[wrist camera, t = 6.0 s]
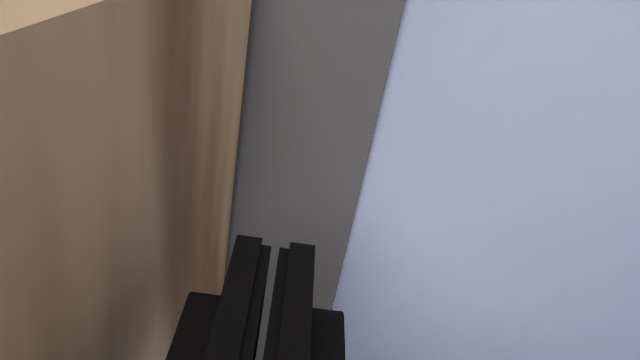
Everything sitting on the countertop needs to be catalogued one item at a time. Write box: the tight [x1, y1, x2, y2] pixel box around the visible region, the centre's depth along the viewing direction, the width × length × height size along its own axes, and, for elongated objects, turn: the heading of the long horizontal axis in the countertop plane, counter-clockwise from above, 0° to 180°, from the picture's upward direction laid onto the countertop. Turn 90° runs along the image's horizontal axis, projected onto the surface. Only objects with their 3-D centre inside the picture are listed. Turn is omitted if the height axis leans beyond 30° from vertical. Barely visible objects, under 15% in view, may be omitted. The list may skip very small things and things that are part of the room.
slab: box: [0, 0, 252, 360], centre depth 11 cm, size 4×12×10 cm, turn 171°
